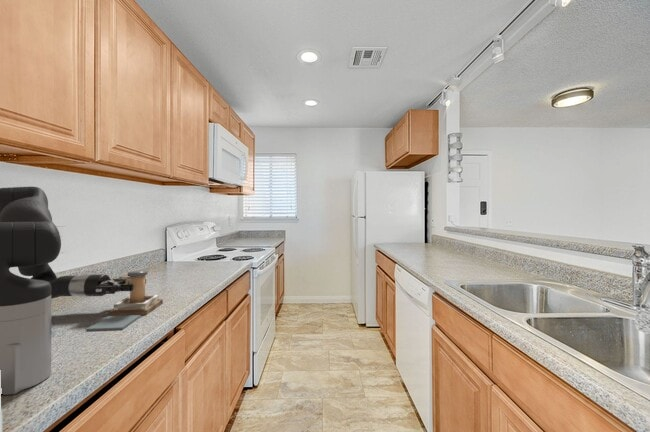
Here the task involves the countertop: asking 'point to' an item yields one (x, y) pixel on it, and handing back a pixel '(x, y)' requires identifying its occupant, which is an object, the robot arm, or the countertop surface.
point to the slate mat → (114, 323)
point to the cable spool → (137, 286)
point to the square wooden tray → (136, 306)
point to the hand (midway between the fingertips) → (139, 284)
